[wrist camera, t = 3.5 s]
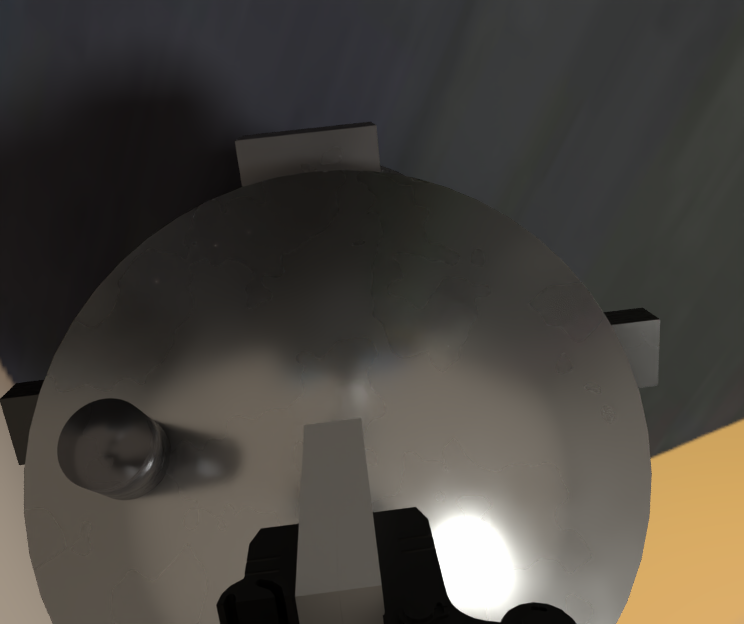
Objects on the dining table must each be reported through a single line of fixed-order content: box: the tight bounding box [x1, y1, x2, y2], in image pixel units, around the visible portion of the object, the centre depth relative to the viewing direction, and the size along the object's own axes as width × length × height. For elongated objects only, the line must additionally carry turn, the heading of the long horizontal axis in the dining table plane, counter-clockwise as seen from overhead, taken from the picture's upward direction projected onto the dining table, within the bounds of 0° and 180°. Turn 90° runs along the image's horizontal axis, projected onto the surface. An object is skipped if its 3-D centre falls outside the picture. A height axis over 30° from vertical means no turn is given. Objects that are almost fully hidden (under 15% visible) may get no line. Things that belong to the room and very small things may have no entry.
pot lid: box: [24, 170, 652, 624], centre depth 19 cm, size 22×18×3 cm
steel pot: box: [0, 122, 660, 465], centre depth 33 cm, size 19×27×12 cm
